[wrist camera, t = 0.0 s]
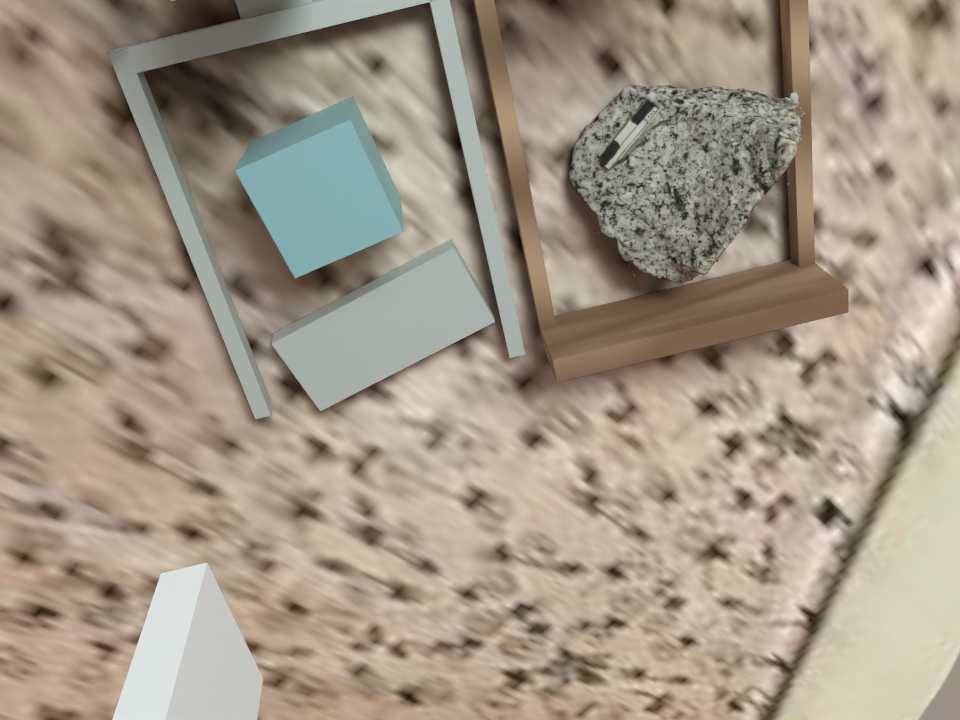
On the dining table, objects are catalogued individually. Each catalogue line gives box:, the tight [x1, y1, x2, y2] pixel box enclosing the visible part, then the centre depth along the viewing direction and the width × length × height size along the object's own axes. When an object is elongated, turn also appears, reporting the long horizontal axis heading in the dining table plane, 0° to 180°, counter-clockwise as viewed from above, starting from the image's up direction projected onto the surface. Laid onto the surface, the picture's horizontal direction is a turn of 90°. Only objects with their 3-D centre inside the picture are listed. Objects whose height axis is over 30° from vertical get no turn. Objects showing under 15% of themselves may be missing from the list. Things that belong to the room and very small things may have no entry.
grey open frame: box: [108, 0, 525, 419], centre depth 34 cm, size 24×14×9 cm, turn 12°
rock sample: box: [569, 81, 804, 285], centre depth 38 cm, size 10×8×9 cm
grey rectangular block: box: [271, 239, 495, 411], centre depth 42 cm, size 4×10×1 cm, turn 117°
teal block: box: [235, 97, 403, 278], centre depth 37 cm, size 5×5×5 cm
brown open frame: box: [473, 0, 848, 382], centre depth 34 cm, size 24×14×9 cm, turn 12°
